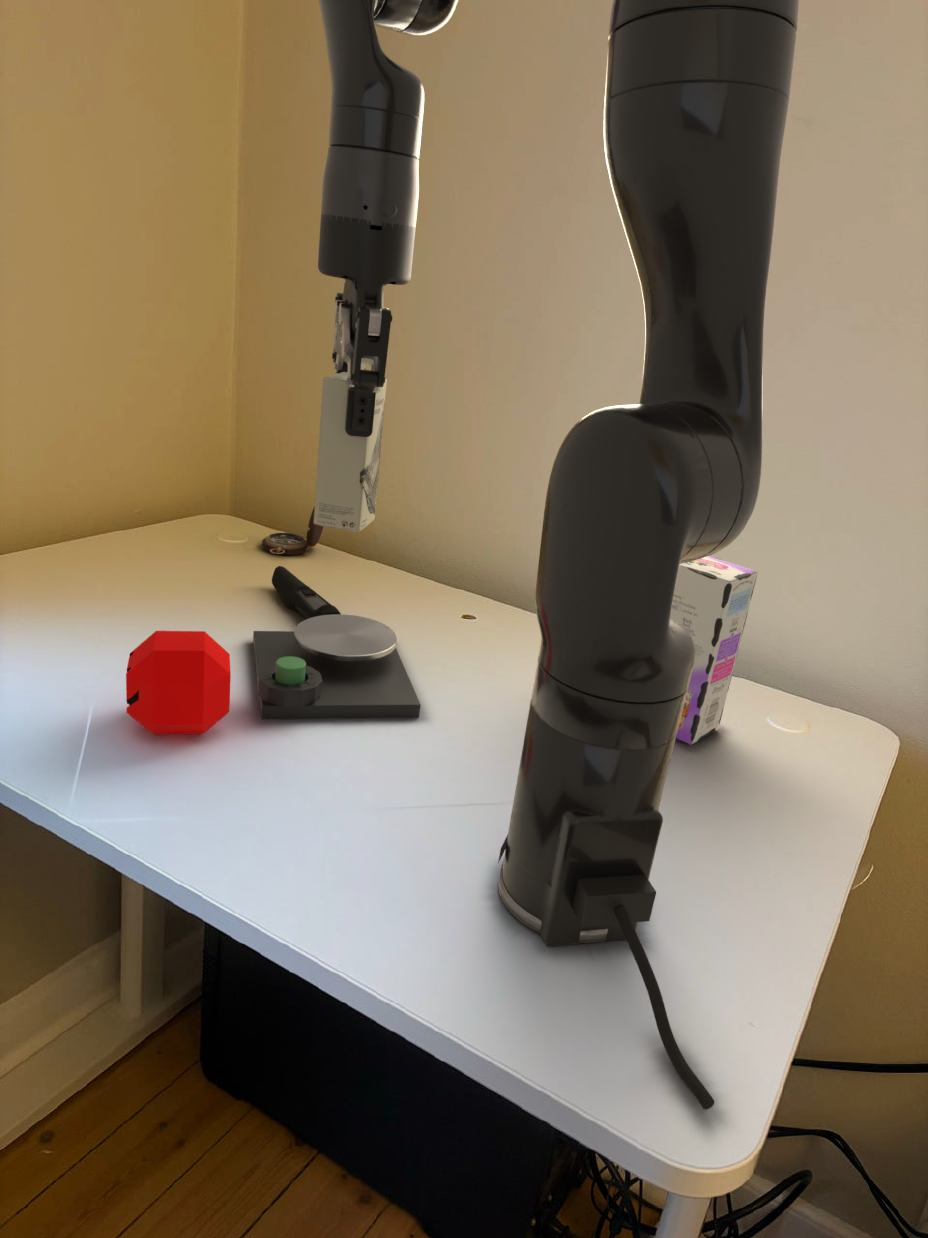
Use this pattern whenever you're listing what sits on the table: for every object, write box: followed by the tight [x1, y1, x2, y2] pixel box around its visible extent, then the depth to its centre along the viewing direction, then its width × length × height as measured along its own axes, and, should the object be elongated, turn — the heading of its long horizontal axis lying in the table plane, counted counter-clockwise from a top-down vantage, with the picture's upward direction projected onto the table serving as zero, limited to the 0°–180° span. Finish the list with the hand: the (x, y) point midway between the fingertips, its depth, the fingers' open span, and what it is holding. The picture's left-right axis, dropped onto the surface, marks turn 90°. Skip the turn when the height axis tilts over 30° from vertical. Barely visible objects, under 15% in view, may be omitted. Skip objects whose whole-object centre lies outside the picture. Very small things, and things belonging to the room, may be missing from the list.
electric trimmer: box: [271, 565, 342, 620], centre depth 102 cm, size 4×16×3 cm, turn 32°
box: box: [314, 372, 388, 533], centre depth 80 cm, size 5×4×13 cm
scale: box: [252, 630, 421, 721], centre depth 88 cm, size 16×14×3 cm
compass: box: [261, 498, 324, 556], centre depth 120 cm, size 8×8×7 cm
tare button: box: [275, 656, 306, 685], centre depth 81 cm, size 3×3×2 cm
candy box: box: [670, 555, 759, 746], centre depth 87 cm, size 14×6×16 cm, turn 47°
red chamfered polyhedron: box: [125, 630, 232, 736], centre depth 76 cm, size 8×8×8 cm
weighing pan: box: [293, 613, 398, 662], centre depth 90 cm, size 10×10×1 cm
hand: (352, 426), depth 79 cm, fingers closed on box, 6 cm apart
